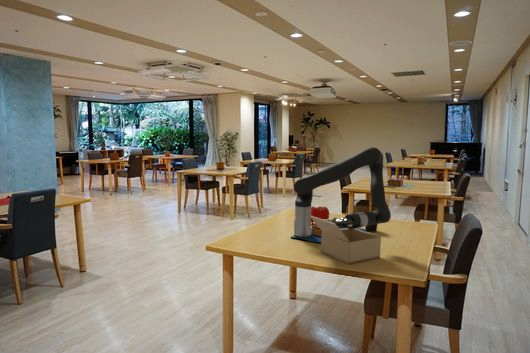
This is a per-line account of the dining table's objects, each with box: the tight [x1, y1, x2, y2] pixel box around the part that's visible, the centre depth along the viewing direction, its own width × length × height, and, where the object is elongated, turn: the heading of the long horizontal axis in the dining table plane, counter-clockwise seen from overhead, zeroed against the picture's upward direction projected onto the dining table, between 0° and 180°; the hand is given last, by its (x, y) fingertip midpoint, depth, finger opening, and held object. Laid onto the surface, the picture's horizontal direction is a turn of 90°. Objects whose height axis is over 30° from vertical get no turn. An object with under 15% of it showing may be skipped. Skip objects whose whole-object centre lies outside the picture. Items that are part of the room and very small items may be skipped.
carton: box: [320, 228, 382, 265], centre depth 191 cm, size 20×21×10 cm
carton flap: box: [310, 216, 349, 241], centre depth 183 cm, size 1×19×12 cm
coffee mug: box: [364, 224, 379, 233], centre depth 239 cm, size 12×9×10 cm
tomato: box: [311, 206, 330, 224], centre depth 252 cm, size 13×14×12 cm
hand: (328, 225), depth 183 cm, fingers closed
